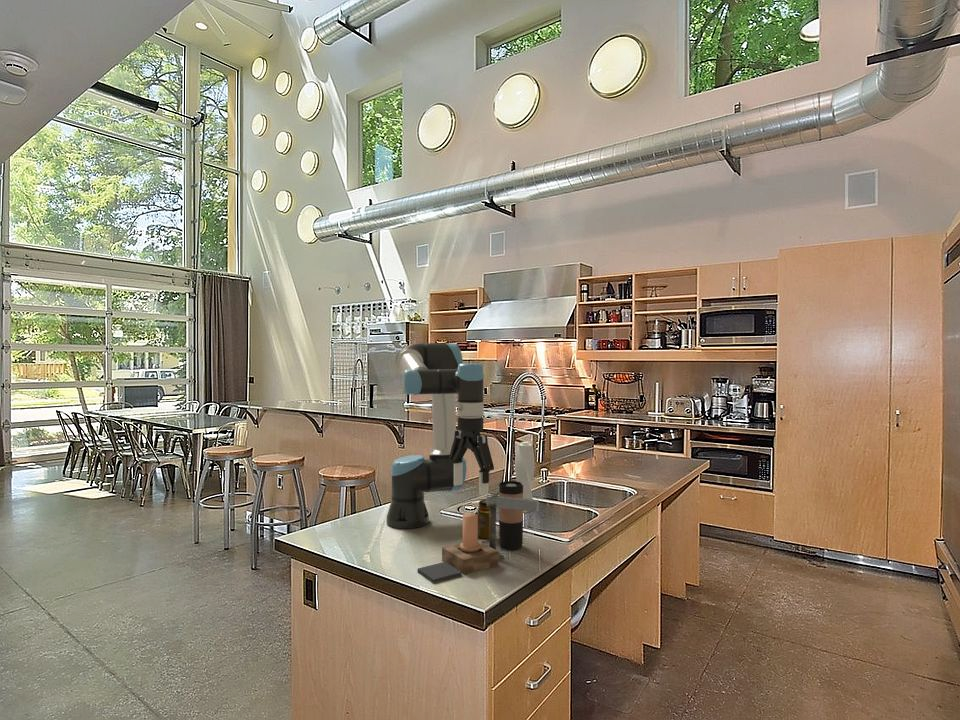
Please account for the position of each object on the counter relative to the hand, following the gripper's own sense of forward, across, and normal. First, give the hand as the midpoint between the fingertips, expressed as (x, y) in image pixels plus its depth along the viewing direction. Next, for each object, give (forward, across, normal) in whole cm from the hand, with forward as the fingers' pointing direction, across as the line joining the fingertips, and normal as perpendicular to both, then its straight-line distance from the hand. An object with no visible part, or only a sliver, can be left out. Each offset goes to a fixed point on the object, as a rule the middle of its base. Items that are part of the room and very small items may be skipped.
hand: (470, 489), depth 167 cm
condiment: (+22, -16, +16) cm, 32 cm away
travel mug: (+22, -4, +18) cm, 29 cm away
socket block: (+22, 0, +2) cm, 22 cm away
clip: (+6, +5, +12) cm, 14 cm away
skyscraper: (+21, -32, +46) cm, 60 cm away
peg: (+22, 0, 0) cm, 22 cm away
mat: (+22, +2, -11) cm, 25 cm away
